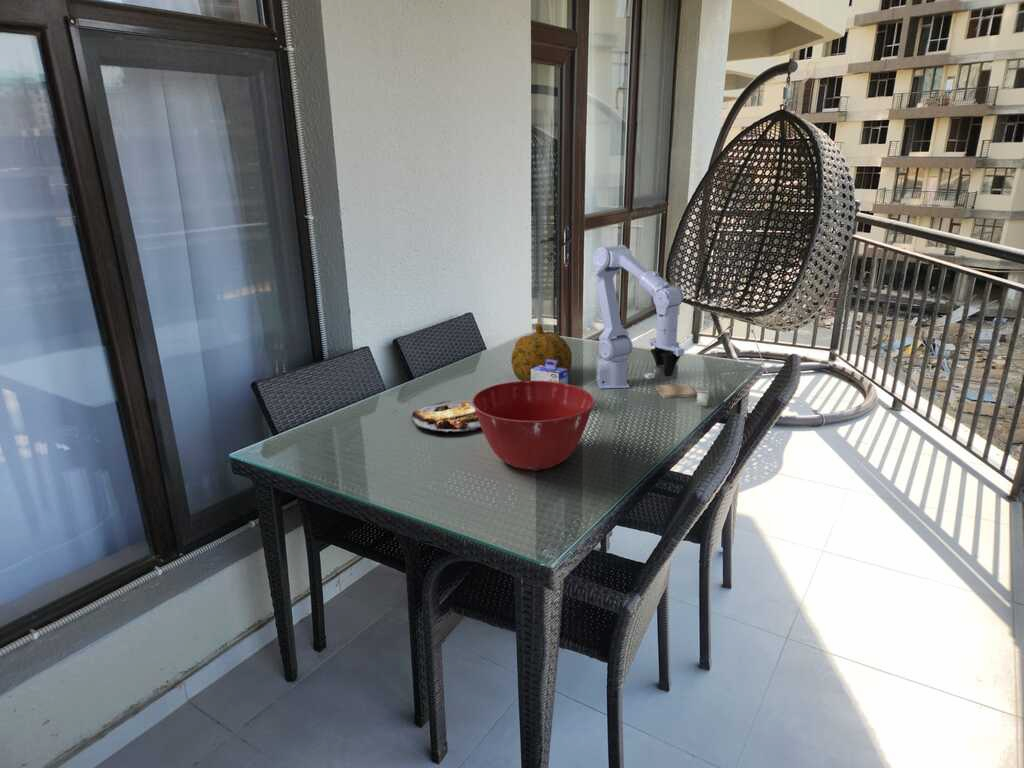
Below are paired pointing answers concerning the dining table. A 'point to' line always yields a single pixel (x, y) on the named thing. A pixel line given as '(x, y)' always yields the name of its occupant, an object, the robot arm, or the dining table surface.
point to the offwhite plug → (702, 397)
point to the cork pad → (675, 391)
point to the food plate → (447, 416)
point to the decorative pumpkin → (539, 352)
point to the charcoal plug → (661, 374)
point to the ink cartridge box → (549, 373)
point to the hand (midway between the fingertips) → (664, 374)
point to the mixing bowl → (533, 421)
